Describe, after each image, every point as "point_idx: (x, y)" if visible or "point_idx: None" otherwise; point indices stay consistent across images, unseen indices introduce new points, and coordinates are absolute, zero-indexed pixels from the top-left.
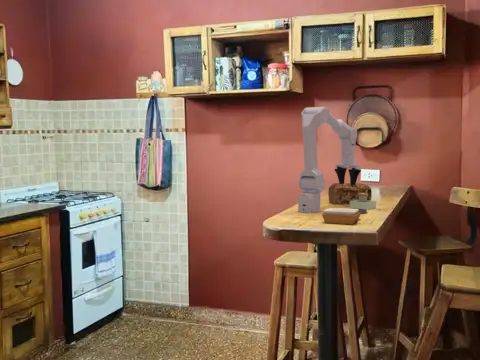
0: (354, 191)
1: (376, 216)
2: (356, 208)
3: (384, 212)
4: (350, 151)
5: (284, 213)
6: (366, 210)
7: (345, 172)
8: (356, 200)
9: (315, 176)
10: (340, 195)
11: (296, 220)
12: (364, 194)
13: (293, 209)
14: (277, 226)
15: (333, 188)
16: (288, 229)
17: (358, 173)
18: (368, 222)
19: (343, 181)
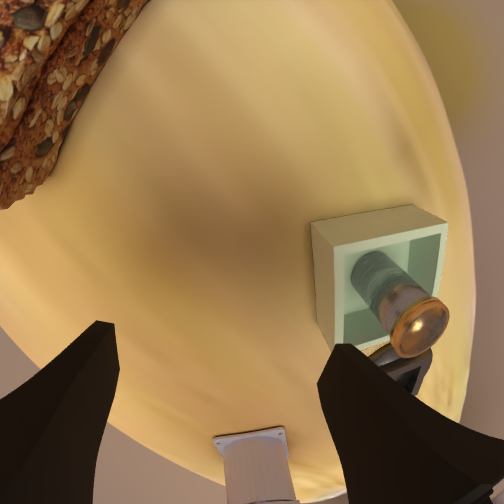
0: (77, 15)
1: (452, 337)
2: (393, 371)
3: (458, 235)
4: None
5: (198, 471)
6: (429, 353)
7: (33, 454)
8: (343, 298)
9: None
10: (32, 154)
11: (304, 482)
12: (433, 336)
13: (129, 430)
14: (318, 498)
15: None
16: (346, 492)
17: (467, 445)
18: (444, 401)
19: (105, 355)
